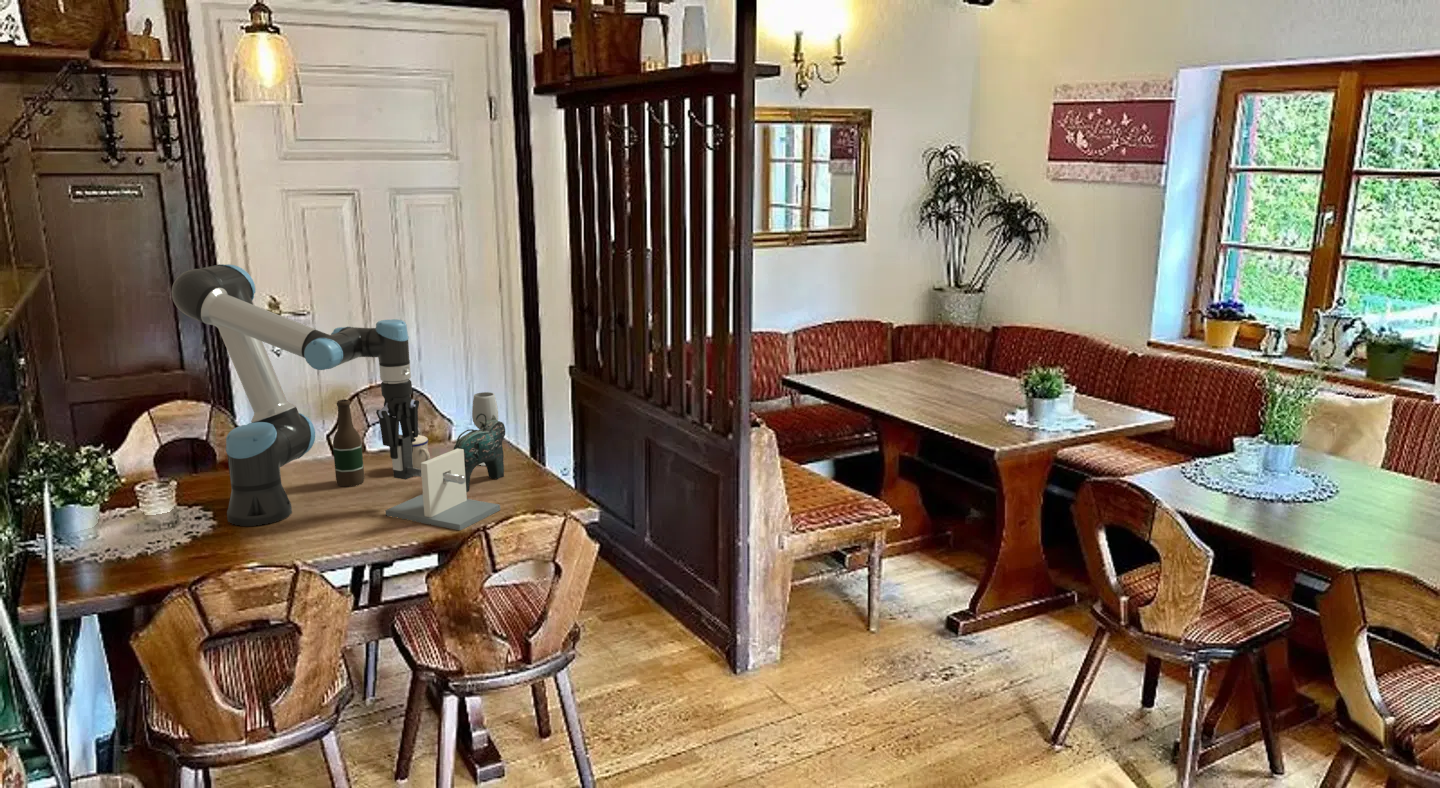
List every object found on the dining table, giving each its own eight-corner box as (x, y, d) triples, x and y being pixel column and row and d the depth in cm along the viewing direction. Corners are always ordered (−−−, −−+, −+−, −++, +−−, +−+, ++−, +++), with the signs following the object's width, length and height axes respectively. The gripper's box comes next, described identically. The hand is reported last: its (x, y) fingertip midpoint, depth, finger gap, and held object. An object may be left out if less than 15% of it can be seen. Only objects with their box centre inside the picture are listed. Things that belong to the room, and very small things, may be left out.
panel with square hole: (460, 530, 250) (456, 470, 246) (385, 515, 260) (380, 458, 256) (500, 510, 264) (497, 453, 260) (428, 497, 274) (424, 442, 270)
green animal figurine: (496, 472, 294) (492, 406, 290) (513, 476, 291) (509, 408, 287) (447, 492, 277) (443, 422, 273) (465, 496, 274) (461, 425, 270)
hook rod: (461, 489, 255) (458, 447, 253) (393, 477, 264) (390, 437, 262) (468, 485, 258) (466, 444, 255) (401, 474, 267) (398, 434, 265)
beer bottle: (356, 488, 281) (349, 404, 275) (330, 486, 282) (322, 403, 277) (370, 479, 288) (363, 397, 283) (345, 477, 290) (337, 396, 284)
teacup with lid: (391, 470, 297) (388, 432, 294) (417, 462, 304) (414, 425, 301) (416, 478, 289) (413, 439, 287) (442, 470, 296) (440, 432, 294)
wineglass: (493, 457, 309) (489, 390, 304) (505, 462, 303) (501, 394, 298) (470, 461, 304) (466, 394, 299) (482, 467, 299) (478, 398, 294)
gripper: (384, 388, 250) (391, 478, 256) (428, 375, 264) (435, 461, 270) (361, 385, 253) (369, 474, 259) (406, 372, 267) (413, 457, 273)
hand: (402, 467), depth 264 cm, fingers closed on hook rod, 3 cm apart
